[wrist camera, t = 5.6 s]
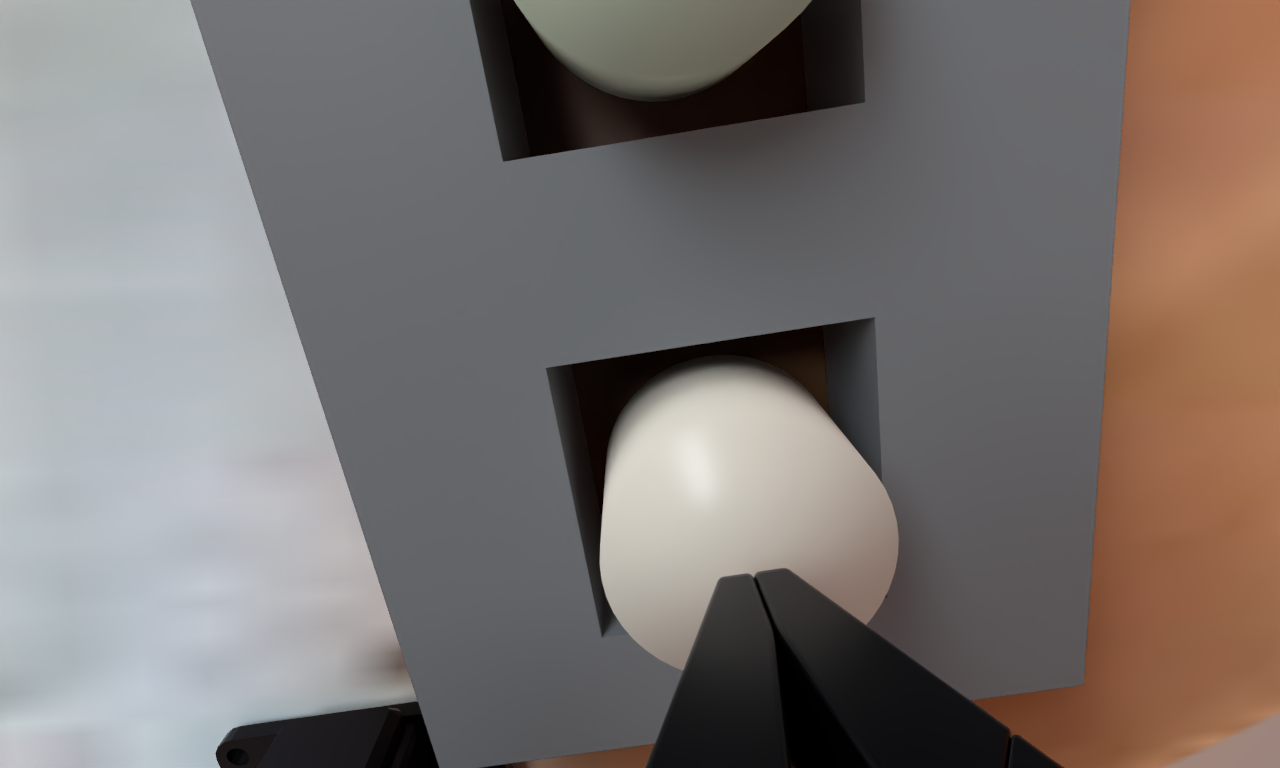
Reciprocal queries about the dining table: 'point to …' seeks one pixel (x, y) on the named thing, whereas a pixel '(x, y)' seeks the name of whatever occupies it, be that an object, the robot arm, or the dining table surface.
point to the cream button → (734, 500)
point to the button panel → (692, 322)
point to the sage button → (657, 40)
